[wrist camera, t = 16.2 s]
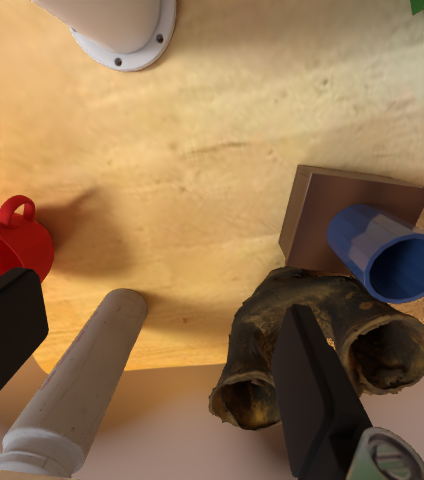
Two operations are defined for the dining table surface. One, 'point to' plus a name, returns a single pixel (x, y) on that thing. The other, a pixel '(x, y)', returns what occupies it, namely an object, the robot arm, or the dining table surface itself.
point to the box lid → (335, 200)
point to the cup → (380, 252)
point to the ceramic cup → (24, 239)
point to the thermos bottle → (76, 392)
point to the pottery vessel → (333, 326)
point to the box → (298, 194)
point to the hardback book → (417, 6)
